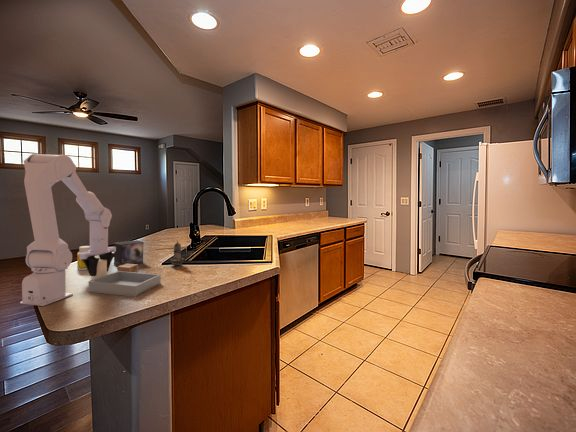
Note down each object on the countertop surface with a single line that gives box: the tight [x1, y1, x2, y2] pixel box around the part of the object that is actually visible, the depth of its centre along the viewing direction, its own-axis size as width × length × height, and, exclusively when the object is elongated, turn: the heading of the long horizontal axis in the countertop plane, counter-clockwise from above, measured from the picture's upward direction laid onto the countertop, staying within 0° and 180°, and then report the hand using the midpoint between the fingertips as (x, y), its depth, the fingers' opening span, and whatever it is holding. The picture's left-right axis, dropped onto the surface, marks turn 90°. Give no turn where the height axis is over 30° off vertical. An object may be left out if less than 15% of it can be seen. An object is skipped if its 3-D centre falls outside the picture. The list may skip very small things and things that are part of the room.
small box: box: [113, 239, 145, 267], centre depth 124 cm, size 11×6×10 cm, turn 149°
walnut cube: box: [116, 264, 139, 273], centre depth 104 cm, size 5×5×5 cm
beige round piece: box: [90, 258, 108, 281], centre depth 101 cm, size 5×5×7 cm
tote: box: [88, 271, 162, 298], centre depth 93 cm, size 13×17×4 cm
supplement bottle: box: [76, 245, 90, 271], centre depth 113 cm, size 5×5×10 cm
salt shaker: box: [169, 241, 185, 269], centre depth 123 cm, size 6×6×12 cm
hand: (99, 273), depth 102 cm, fingers closed on beige round piece, 5 cm apart
